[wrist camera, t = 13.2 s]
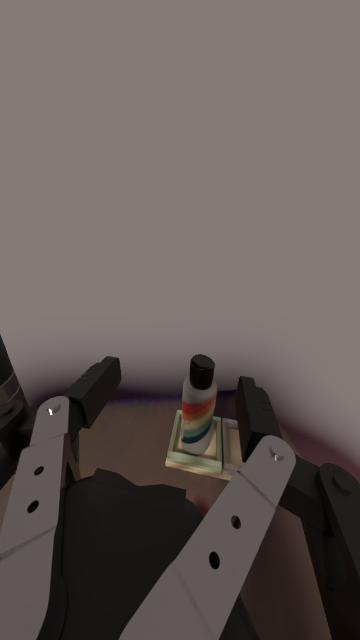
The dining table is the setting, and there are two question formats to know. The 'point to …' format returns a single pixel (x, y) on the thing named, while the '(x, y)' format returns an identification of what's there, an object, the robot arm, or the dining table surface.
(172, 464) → the cream flat tray
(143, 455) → the dining table surface
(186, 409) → the lotion bottle
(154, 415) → the dining table surface
